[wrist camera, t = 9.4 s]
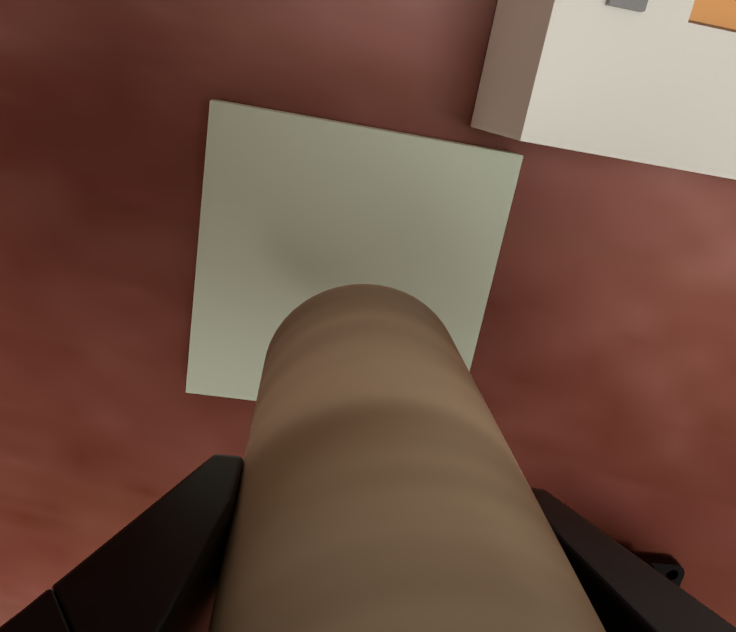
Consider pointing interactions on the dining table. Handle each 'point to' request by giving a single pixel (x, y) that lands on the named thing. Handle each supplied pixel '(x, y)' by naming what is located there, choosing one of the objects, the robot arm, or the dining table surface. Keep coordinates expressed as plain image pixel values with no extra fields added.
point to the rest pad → (335, 230)
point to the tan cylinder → (384, 489)
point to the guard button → (714, 14)
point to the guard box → (612, 82)
